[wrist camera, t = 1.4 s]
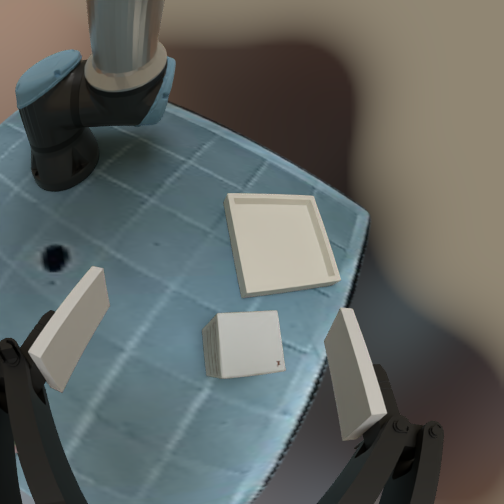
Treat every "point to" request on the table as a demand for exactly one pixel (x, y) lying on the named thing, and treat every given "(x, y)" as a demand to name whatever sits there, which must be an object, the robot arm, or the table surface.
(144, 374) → the table surface
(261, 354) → the supplement box
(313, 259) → the tray
